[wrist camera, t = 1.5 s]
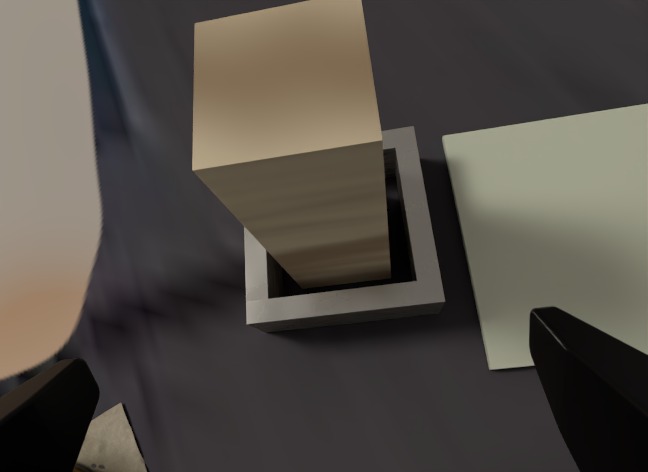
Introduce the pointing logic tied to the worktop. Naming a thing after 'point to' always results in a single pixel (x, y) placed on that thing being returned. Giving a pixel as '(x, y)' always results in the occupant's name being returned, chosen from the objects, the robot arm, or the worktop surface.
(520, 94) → the worktop surface
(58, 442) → the robot arm
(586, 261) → the mat
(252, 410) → the worktop surface
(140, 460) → the condiment
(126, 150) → the worktop surface
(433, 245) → the collar
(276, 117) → the block
